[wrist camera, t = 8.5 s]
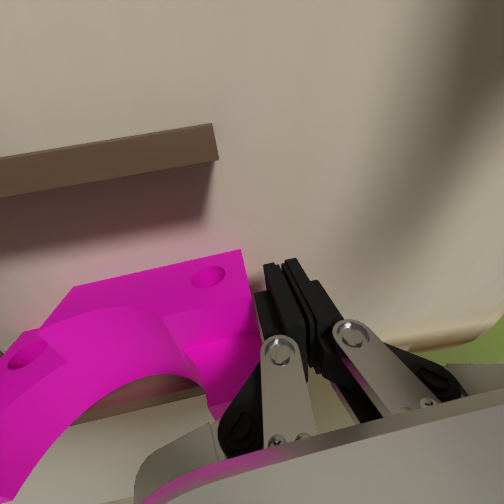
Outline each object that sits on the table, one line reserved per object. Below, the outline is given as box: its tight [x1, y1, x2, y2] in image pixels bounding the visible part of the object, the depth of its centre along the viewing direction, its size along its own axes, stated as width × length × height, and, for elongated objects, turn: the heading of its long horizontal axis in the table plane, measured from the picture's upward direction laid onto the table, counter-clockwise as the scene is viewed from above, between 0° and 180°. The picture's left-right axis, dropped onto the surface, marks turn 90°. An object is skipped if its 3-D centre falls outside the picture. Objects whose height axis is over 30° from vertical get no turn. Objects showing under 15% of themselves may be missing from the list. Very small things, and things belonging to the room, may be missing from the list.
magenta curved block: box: [0, 249, 262, 504], centre depth 12 cm, size 15×6×8 cm, turn 100°
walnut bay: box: [0, 123, 219, 426], centre depth 12 cm, size 15×18×4 cm
